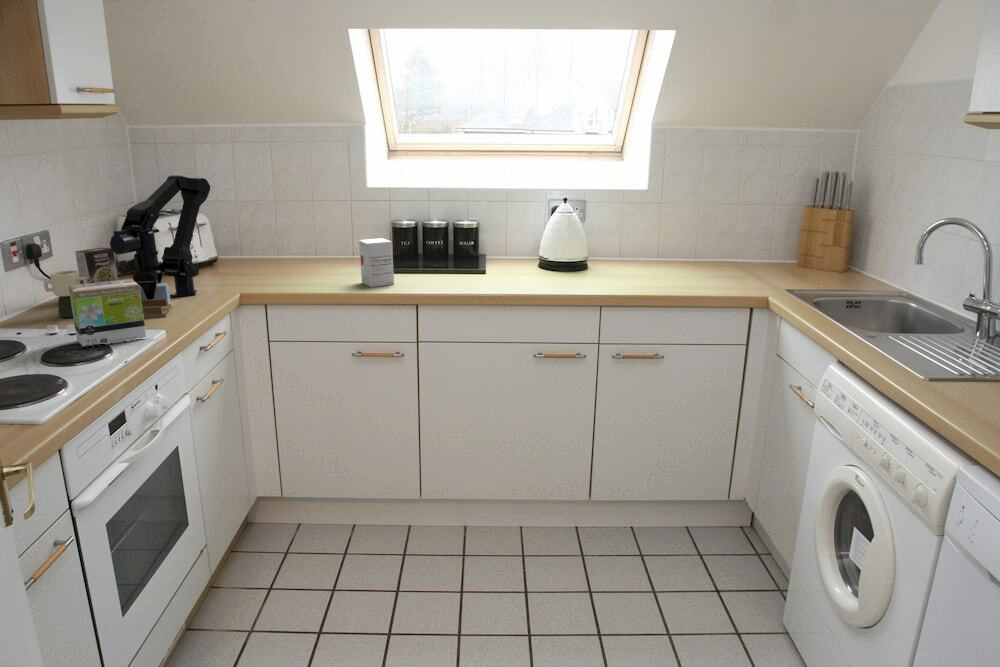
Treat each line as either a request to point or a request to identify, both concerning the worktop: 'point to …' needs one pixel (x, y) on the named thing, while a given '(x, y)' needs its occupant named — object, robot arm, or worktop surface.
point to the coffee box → (96, 265)
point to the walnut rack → (155, 308)
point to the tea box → (107, 312)
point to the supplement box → (376, 262)
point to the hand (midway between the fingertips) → (153, 299)
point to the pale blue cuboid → (158, 292)
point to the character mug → (63, 289)
